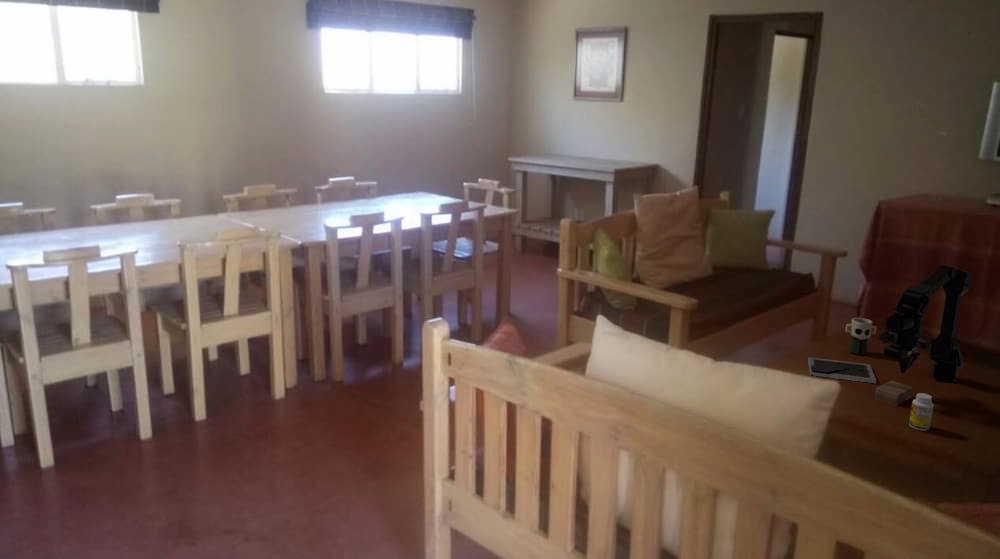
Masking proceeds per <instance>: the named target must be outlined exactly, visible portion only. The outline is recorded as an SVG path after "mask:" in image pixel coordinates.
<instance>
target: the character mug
mask: <svg viewBox="0 0 1000 559" xmlns="http://www.w3.org/2000/svg"><path fill="white" fill-rule="evenodd" d="M849 327H850V329H849ZM877 328H878V326H876V325H873V320H870V319H868V318H861V317H854V318H852V319H851V323H847V324H846V325H845V333H850V336H852V338H851V341H850V345H849V350H848V351H850V352H851V353H853V354H856V355H858V354H861V355H866V354H868V340H867V339H869V338H871V335H876V334H877ZM872 329H873V331H872Z"/></svg>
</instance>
